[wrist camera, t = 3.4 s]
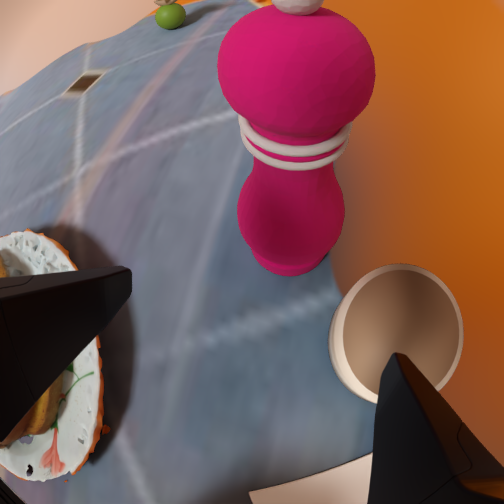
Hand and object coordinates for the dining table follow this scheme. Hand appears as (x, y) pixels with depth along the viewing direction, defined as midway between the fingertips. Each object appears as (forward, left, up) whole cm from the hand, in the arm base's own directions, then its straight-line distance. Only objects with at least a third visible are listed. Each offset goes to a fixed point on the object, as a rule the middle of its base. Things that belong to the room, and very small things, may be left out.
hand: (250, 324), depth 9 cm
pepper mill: (+2, +9, -13) cm, 16 cm away
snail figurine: (-17, +51, -13) cm, 55 cm away
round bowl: (+10, +1, -13) cm, 16 cm away
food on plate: (-25, -4, -14) cm, 28 cm away
